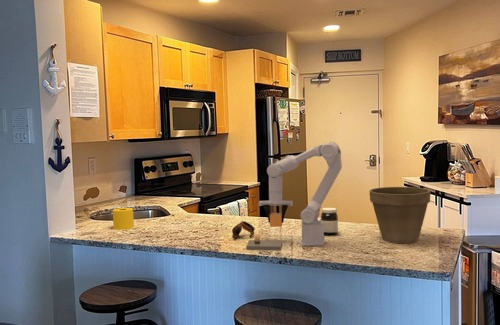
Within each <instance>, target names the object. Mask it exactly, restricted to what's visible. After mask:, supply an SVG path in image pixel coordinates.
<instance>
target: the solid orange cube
mask: <svg viewBox="0 0 500 325" xmlns="http://www.w3.org/2000/svg"><path fill="white" fill-rule="evenodd" d="M282 226H283V223H282V212H270V223H269V227H270V228H272V227H273V228H277V227H278V228H280V227H282Z"/></svg>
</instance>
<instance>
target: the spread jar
mask: <svg viewBox="0 0 500 325" xmlns="http://www.w3.org/2000/svg"><path fill="white" fill-rule="evenodd" d="M337 210H338V209H337V208H336V207H323V208H322V207H321V214H320V217H318V218H317V219H318V221H319V223H323V225H324V236H328V237H329V236H330V237H331V236H336V235H338V233H339V227H338V226H339V218H338V213H337Z"/></svg>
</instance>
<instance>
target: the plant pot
mask: <svg viewBox="0 0 500 325" xmlns="http://www.w3.org/2000/svg"><path fill="white" fill-rule="evenodd" d="M368 192H369V200H370V203H372V205H373V206H372V207H373V211H374V213H375V217H376V221H377V224H378V228H379V232H380V235H381V238H382V239H383V241H385V242H388V243H392V244H412V243H416V242H418V240H419V238H420V236H421V231H422V229H423V228H422V227H423V224H424V220H425V216H426V213H427V208H428V204H429V203H431V190H430V189H428V188H424V187H417V186H415V187H414V186H385V187H377V188H371V189H370V190H368Z"/></svg>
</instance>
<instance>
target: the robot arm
mask: <svg viewBox="0 0 500 325" xmlns="http://www.w3.org/2000/svg"><path fill="white" fill-rule="evenodd" d="M313 157H319V158H321V157H322V158H323V159H324V160H325V161H326V164H327V166H328V168H327V170H326V172H325V174H324V176H323V178H322V180H321V181H320V183H319V185H318V186H317V189H316V191H315V193H314V194H313V196H312V198H311V200H310V202H309V203H308V205H307V206H306V208H304V209H302V211H301V212H300V220H301V240H300V245H301V246H315V247H316V246H318V247H319V246H322V247H323V246H325V242H324V241H325V235H324V225H323V223H319V221H318V218H319V217H320V210H321V209H322V205H323V203H324V201H325V199H326V197H327V196H328V194H329V192H330V190H331V189H332V186H333V185H334V182H335V181H336V179H337V177H338V175H339V173H340V172H341V170H342V168H343V166H342V165H343V164H342V163H343V162H342V151H341V148H340V146H339V145H338V144H337V143H336V142H335V141H330V142H326V143H324V144H319V145H317V146H313V147H311V148H310V149H308V150H306V151H303V152H302V153H300V154H298V155H289V154H288V155H285V157H284V158H283V159H278V160H276V161H275V162H274V163H271V164H270V165H269V166H267V168H266V173H267V175H268V200H259V201H258V206H259V207H263V210H264V212H265V214H266V216H267V219H268V223H269V224H270V214H271V206H272V207H273V206H277V207H278V206H279V207H280V206H281V213H282V224H283V223H284V222H285V221H284V219H285V215H286V212H287V210H288V207H293V206H294V205H293V204H294V203H293V202H294V201H293V200H285V199H284V200H283V178H282V177H283V174H286V173H288V172H291V171H293V170H294V169H297V168H298V167H299V164H300V163H303V162H304V161H307V160H309V159H311V158H313Z"/></svg>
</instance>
